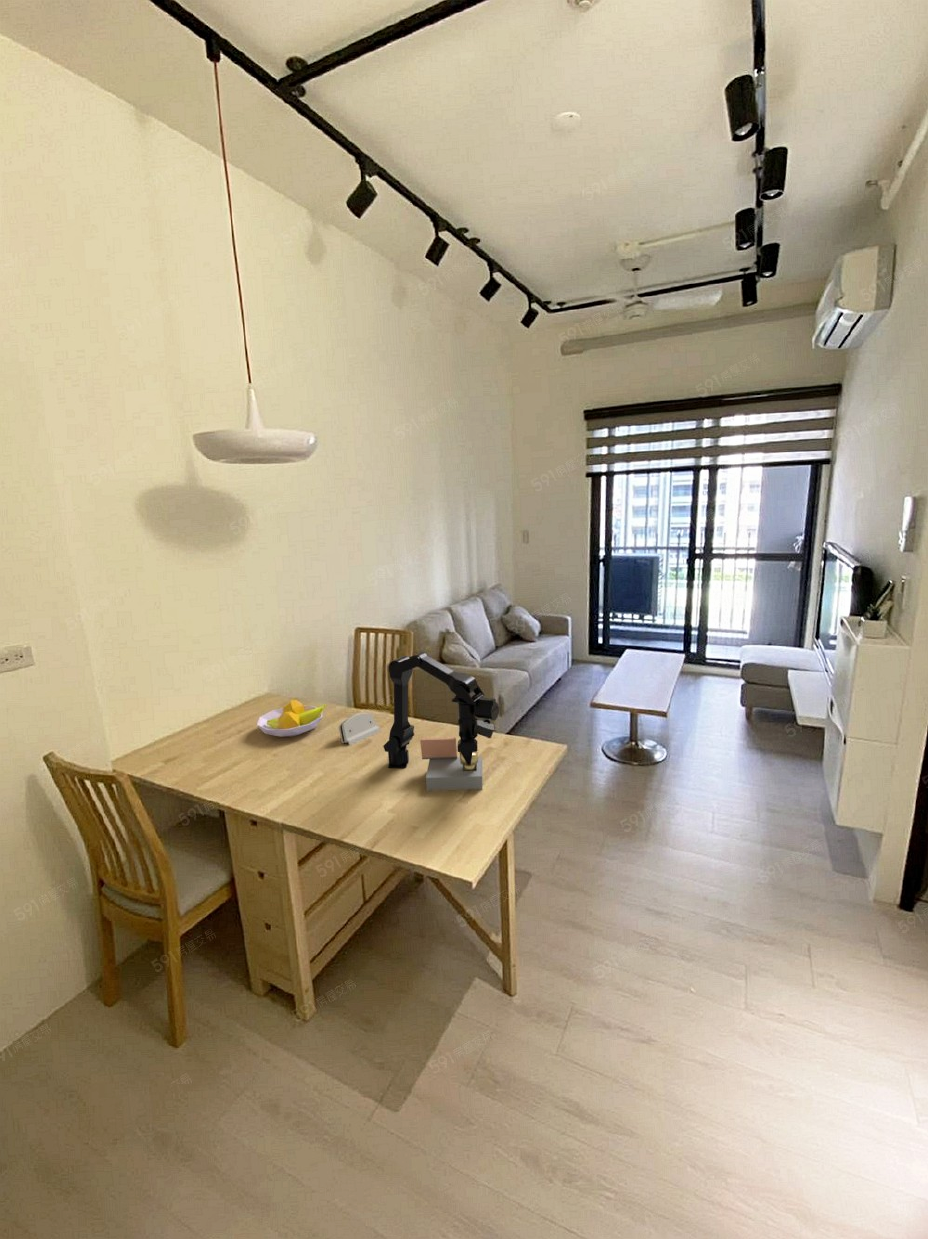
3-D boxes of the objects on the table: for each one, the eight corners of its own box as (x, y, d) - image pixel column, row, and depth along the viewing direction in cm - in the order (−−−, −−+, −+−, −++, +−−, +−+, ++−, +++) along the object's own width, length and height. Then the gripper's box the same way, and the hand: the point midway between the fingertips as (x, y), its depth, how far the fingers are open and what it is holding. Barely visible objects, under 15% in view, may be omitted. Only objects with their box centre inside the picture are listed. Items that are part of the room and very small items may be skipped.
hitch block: (426, 790, 178) (425, 777, 177) (430, 769, 191) (429, 757, 190) (482, 789, 177) (481, 776, 176) (482, 768, 191) (481, 756, 190)
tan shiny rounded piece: (460, 778, 180) (459, 757, 178) (461, 769, 185) (460, 749, 184) (478, 777, 179) (477, 757, 178) (478, 768, 185) (478, 748, 184)
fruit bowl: (244, 739, 224) (240, 713, 222) (289, 714, 249) (286, 690, 246) (300, 748, 213) (296, 720, 211) (341, 721, 238) (338, 697, 235)
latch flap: (422, 760, 189) (420, 740, 185) (422, 757, 190) (420, 738, 186) (457, 759, 189) (455, 739, 185) (457, 756, 190) (455, 737, 186)
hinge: (349, 745, 213) (341, 721, 213) (342, 746, 216) (334, 722, 217) (381, 731, 226) (374, 707, 226) (374, 732, 229) (367, 709, 229)
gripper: (492, 726, 169) (494, 773, 172) (491, 704, 187) (493, 746, 190) (456, 727, 169) (458, 774, 172) (458, 705, 187) (460, 747, 191)
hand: (469, 759), depth 181 cm, fingers closed on tan shiny rounded piece, 6 cm apart
